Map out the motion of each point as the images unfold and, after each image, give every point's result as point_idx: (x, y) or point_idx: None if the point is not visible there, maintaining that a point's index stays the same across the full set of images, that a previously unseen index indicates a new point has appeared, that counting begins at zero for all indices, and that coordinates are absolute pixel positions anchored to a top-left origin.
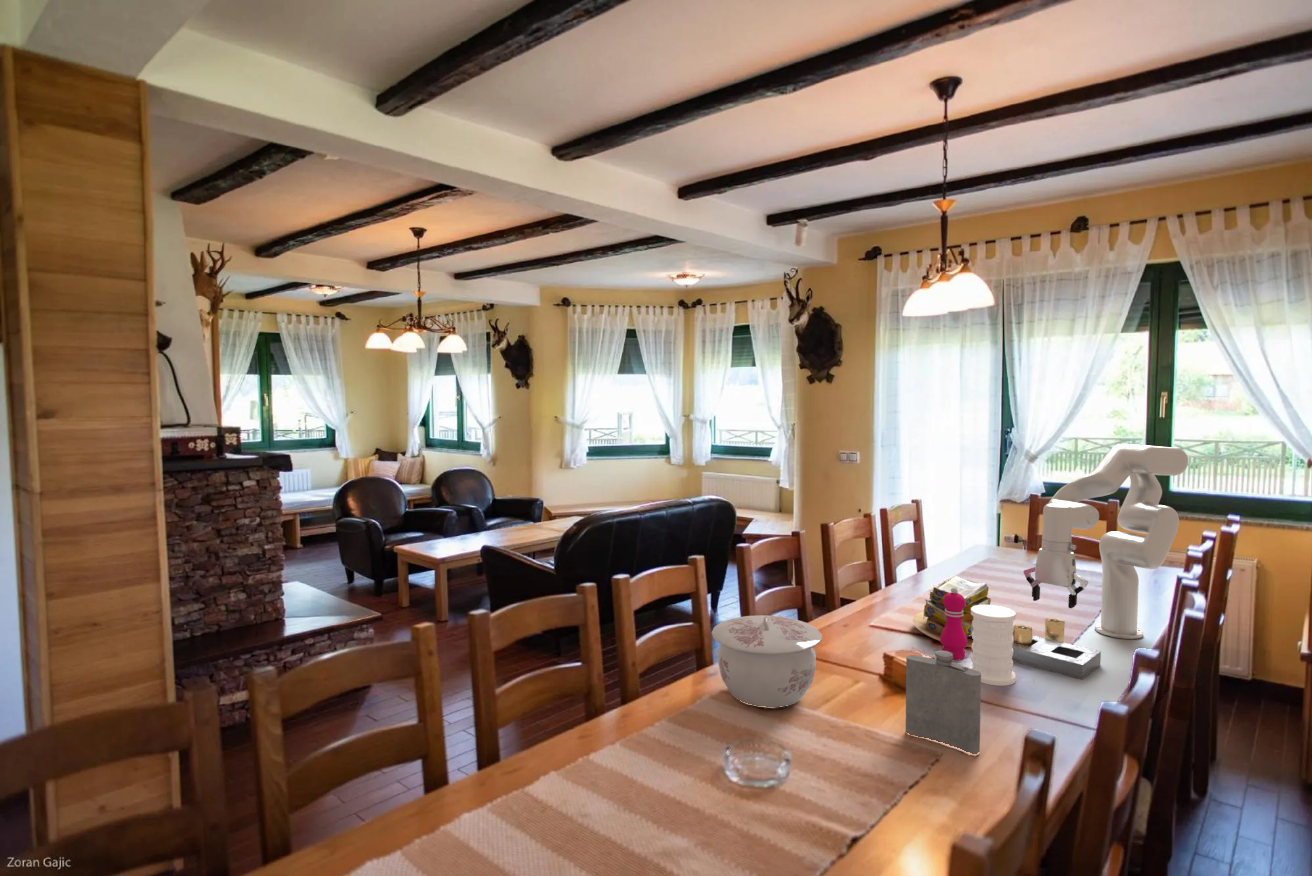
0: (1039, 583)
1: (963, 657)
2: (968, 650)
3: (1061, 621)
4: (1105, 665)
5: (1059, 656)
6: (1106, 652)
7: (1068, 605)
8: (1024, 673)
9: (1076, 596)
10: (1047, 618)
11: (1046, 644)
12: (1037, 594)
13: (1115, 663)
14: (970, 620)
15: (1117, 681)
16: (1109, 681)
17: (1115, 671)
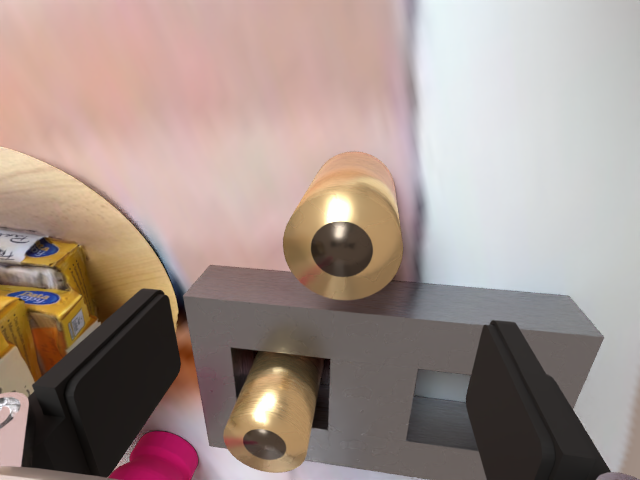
0: (30, 463)
1: (196, 462)
2: (166, 400)
3: (383, 245)
4: (589, 281)
5: (446, 465)
6: (596, 90)
7: (471, 423)
8: (360, 470)
9: (597, 476)
10: (290, 238)
11: (369, 380)
12: (144, 382)
13: (636, 230)
14: (43, 363)
15: (631, 404)
16: (602, 416)
17: (630, 321)
